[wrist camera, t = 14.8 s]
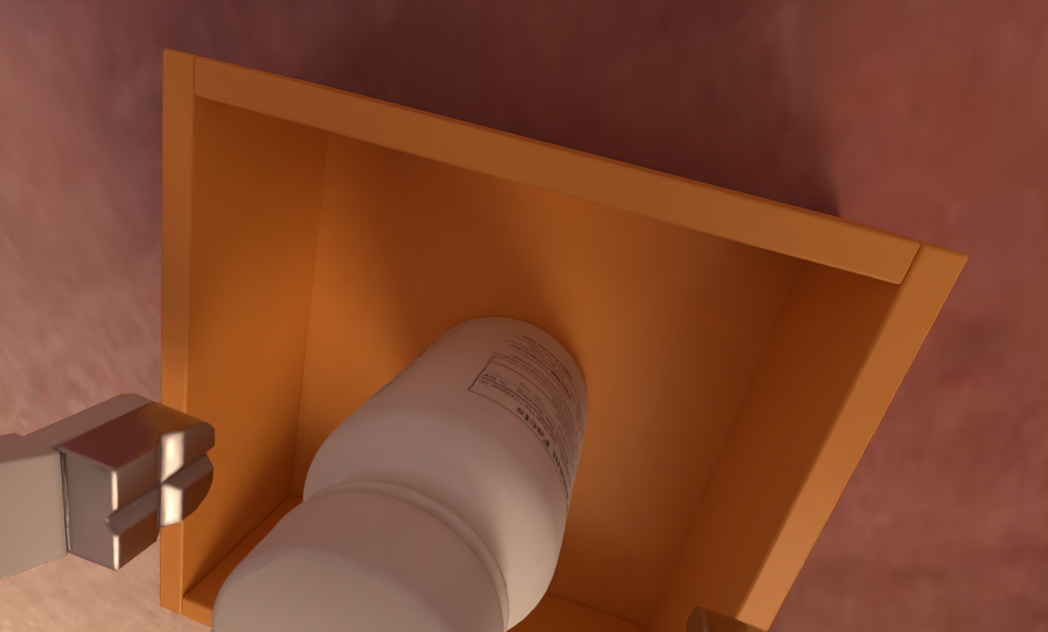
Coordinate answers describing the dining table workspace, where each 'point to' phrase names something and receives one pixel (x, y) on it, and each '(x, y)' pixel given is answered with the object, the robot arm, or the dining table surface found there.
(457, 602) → the pill bottle
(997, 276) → the dining table surface
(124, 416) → the robot arm
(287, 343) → the amber bin
